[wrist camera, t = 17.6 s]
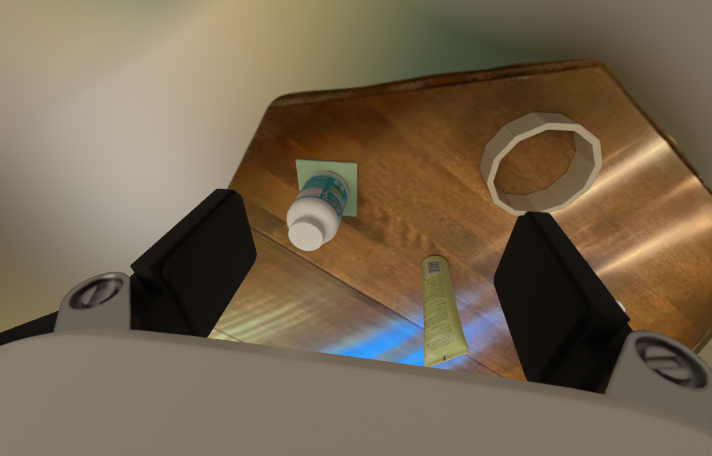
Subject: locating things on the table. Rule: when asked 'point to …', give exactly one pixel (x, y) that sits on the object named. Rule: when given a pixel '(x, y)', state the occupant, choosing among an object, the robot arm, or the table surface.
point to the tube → (440, 314)
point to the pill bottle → (317, 210)
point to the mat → (340, 168)
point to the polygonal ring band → (562, 189)
